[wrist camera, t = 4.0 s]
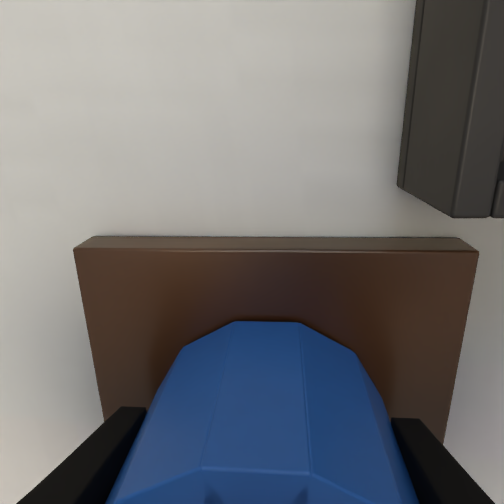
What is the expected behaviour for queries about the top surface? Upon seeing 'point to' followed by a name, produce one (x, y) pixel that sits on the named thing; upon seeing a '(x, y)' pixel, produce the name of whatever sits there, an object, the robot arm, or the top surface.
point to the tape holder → (281, 307)
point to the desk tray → (456, 108)
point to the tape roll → (265, 426)
